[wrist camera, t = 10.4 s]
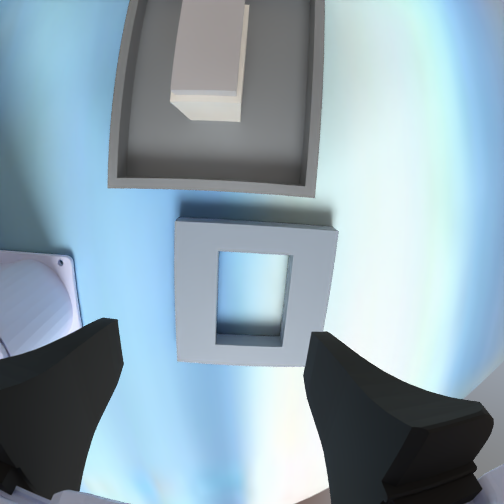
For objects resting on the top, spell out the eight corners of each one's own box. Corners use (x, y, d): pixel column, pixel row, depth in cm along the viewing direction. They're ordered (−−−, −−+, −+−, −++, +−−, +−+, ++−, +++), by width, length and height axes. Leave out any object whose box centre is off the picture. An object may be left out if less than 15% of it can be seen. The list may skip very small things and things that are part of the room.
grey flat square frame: (180, 350, 23) (177, 361, 21) (179, 217, 20) (174, 221, 19) (312, 355, 23) (315, 366, 22) (331, 226, 21) (338, 231, 19)
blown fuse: (190, 120, 18) (164, 97, 11) (198, 46, 16) (179, -6, 10) (240, 121, 18) (241, 98, 11) (246, 47, 17) (250, -6, 10)
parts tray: (121, 185, 19) (107, 188, 17) (144, -3, 16) (134, -19, 13) (305, 194, 20) (314, 197, 18) (315, 2, 16) (324, -14, 14)
